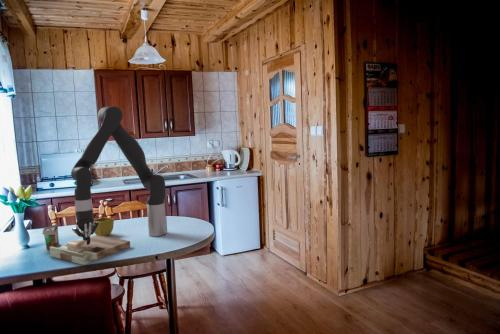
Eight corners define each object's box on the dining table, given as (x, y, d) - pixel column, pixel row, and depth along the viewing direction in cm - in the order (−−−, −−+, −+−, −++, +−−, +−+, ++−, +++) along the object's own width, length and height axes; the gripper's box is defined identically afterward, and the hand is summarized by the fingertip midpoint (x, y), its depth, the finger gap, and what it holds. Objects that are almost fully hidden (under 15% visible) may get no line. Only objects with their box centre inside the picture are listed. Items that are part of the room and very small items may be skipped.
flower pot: (105, 232, 210) (104, 216, 209) (115, 234, 206) (114, 218, 205) (91, 236, 203) (90, 220, 202) (102, 238, 198) (100, 222, 197)
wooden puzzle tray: (98, 240, 195) (97, 232, 194) (130, 247, 182) (129, 238, 182) (50, 256, 172) (49, 247, 172) (83, 264, 160) (82, 254, 159)
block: (79, 247, 175) (78, 239, 174) (87, 249, 172) (86, 240, 171) (67, 251, 170) (66, 242, 169) (75, 253, 167) (74, 244, 166)
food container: (46, 244, 190) (44, 226, 189) (59, 243, 192) (57, 224, 191) (41, 252, 179) (39, 232, 178) (56, 250, 181) (54, 230, 180)
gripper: (91, 205, 181) (94, 239, 183) (66, 211, 169) (69, 247, 171) (101, 206, 177) (104, 241, 179) (76, 212, 166) (79, 249, 168)
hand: (87, 244), depth 175 cm, fingers closed
